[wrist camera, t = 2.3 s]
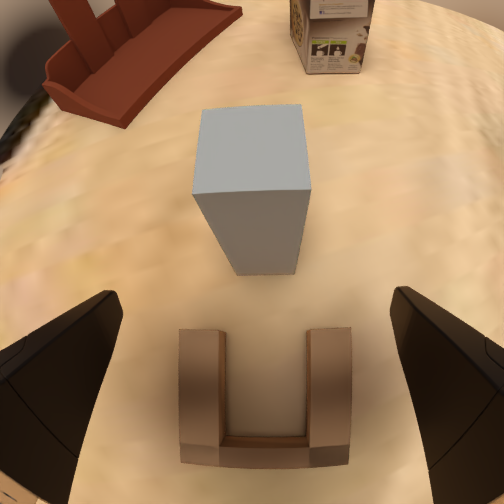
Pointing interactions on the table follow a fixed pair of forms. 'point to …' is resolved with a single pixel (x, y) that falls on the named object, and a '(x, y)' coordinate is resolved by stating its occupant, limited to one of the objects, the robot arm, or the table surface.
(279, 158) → the peg
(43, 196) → the table surface
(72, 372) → the robot arm
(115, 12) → the hanging shelf
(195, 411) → the slot block
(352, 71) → the coffee box
